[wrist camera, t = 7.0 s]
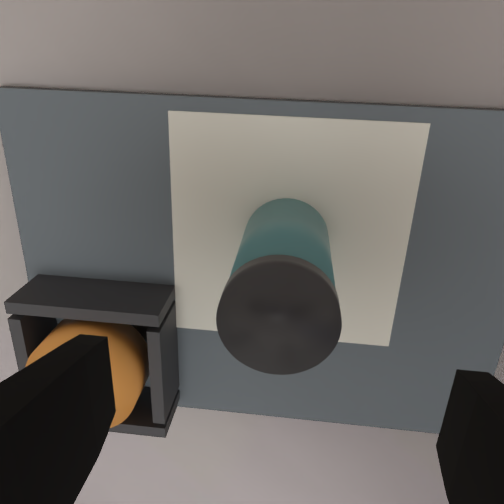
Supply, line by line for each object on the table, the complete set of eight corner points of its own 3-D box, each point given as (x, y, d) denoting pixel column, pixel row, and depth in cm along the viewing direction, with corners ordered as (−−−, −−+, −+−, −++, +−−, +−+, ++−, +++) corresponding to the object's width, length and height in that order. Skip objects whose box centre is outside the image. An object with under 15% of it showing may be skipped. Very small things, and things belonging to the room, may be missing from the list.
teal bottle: (334, 200, 16) (349, 273, 11) (325, 280, 18) (334, 380, 12) (245, 194, 17) (216, 262, 11) (242, 273, 18) (215, 368, 13)
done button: (148, 315, 18) (131, 344, 16) (154, 401, 20) (139, 436, 18) (43, 306, 18) (15, 333, 17) (59, 391, 20) (34, 424, 18)
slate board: (565, 112, 15) (622, 124, 12) (470, 427, 21) (495, 483, 18) (2, 86, 17) (-57, 92, 14) (55, 384, 22) (21, 430, 20)
